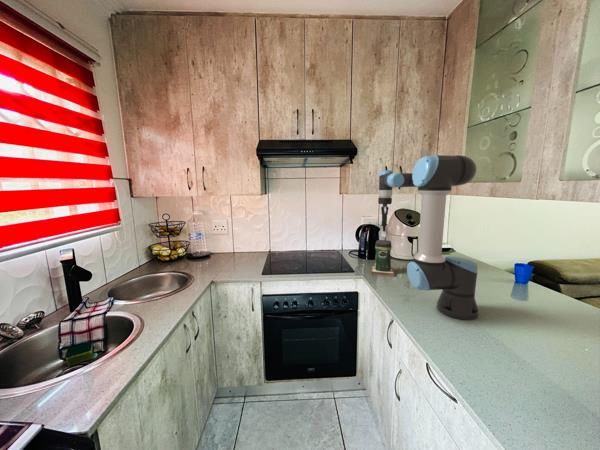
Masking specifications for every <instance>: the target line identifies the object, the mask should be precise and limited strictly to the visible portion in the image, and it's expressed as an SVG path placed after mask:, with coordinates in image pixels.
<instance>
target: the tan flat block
mask: <svg viewBox="0 0 600 450" xmlns="http://www.w3.org/2000/svg"><path fill="white" fill-rule="evenodd" d="M370 269H371V272H370V275H371V276H383V277H394V278H395V271H394V267H391V270H390V271H378V270H376V269H375V265H374V266H373V265H372V266H371V268H370Z"/></svg>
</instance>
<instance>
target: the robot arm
mask: <svg viewBox="0 0 600 450" xmlns="http://www.w3.org/2000/svg"><path fill="white" fill-rule="evenodd" d="M476 174H477V165H476V163H475V161H474V160H473V159H472V158H470V157H468V156H467V155H459V154H457V155H446V154H445V155H437V154H435V155H425V156H423V157H421V158H420V159H418V160H417V161H416V164H415V165H414V167H413V170H412V172H400V173H399V172H394V171H393V170H389V169H388V170H387V169H386V170H380V171H379V174H378V175H379V176H378V178H379V179H378V191H377V194H378V201H377V203H378V204H379V205H382V206H381V207H380V209H381V224H380V227H381V234H380V236H381V238H382V237H383V238H384V237H387V226H388V213H389V206H388V205H391V204H392V202H393V201H392V200H393V198H392V197H393V189H395V188H397V189H398V188H417V192H418V193H419V194H420V195H421V199H420V215H419V216H420V219H419V233H418V246H417V247H418V248H417V253H415V254H414V255H413V261H410V262H409V263H407V266H406V273H407V277H408V280H409V282H410V284H411V286H413V288H414V289H416V290H418V291H427V292H428V291H437V290H438V291H439V290H441V292H440V294H439V297H438V299H437V301H436V309H437V310H438V312H440V313H442V315H445V316H448V317H450V318H454V319H457V320H464V321H465V320H466V321H468V320H469V321H471V320H475V319H477V318H478V317H479V308H478V304H477V300H476V286H477V277H478V275H479V273H478V264H477V263H476V262H475V261H474V260H470V259H467V258H465V257H459V256H454V255H446V256H445V257H444V256H443V255H442V253H443V241H444V229H445V228H444V227H445V215H446V204H447V196H448V194H450V193H451V192H452V189H453V188H452V187H456V186H457V187H459V186H463V185H467V184H468V183H470V182H471V181H472V180H474V178H475V176H476Z"/></svg>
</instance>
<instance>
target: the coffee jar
mask: <svg viewBox="0 0 600 450" xmlns="http://www.w3.org/2000/svg"><path fill="white" fill-rule="evenodd" d="M374 248H375V258H374V259H375V260H374V261H375V262H374V266H375V269H376V270H378V271H390V270H391V268H392V262H391V250H392V241H391V240H386V239H385V240H384V239H377V240H376V241H375V246H374Z"/></svg>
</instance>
